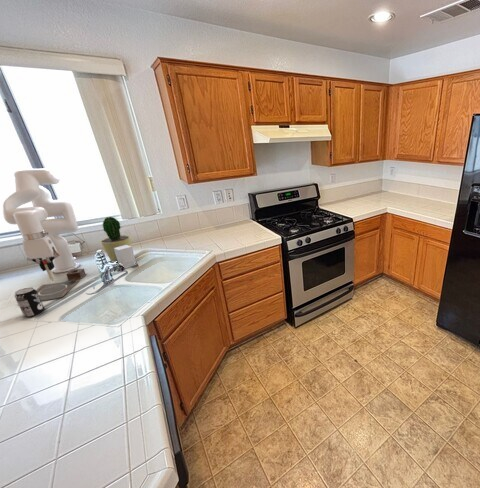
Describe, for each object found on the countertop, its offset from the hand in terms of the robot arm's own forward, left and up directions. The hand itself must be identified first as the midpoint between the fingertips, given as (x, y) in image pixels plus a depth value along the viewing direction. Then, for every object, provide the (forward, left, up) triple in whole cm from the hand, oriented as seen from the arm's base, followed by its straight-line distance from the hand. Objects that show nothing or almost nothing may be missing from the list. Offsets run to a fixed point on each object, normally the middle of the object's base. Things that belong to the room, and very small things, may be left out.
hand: (48, 269), depth 134 cm
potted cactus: (-36, +19, -13) cm, 43 cm away
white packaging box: (-23, +26, -13) cm, 37 cm away
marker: (0, 0, -7) cm, 7 cm away
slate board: (0, -2, -13) cm, 13 cm away
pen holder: (-15, +3, -13) cm, 19 cm away
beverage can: (+22, +1, -13) cm, 26 cm away
